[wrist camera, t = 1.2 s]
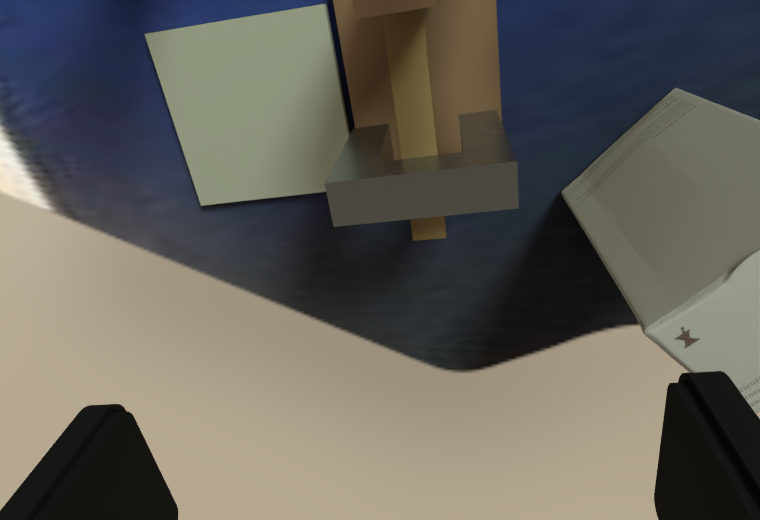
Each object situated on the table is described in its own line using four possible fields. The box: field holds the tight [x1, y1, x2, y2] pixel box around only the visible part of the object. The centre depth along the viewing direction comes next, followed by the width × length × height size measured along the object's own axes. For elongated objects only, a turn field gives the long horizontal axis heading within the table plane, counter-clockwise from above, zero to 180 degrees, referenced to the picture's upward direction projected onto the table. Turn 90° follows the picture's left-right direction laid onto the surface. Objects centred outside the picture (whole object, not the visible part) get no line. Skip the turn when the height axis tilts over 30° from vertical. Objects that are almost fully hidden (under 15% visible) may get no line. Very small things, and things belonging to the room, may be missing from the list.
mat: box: [144, 3, 350, 206], centre depth 31 cm, size 10×10×1 cm
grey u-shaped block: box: [324, 110, 519, 227], centre depth 23 cm, size 7×2×8 cm, turn 99°
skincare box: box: [561, 88, 760, 413], centre depth 24 cm, size 8×6×15 cm
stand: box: [333, 0, 502, 241], centre depth 23 cm, size 8×12×13 cm, turn 9°
